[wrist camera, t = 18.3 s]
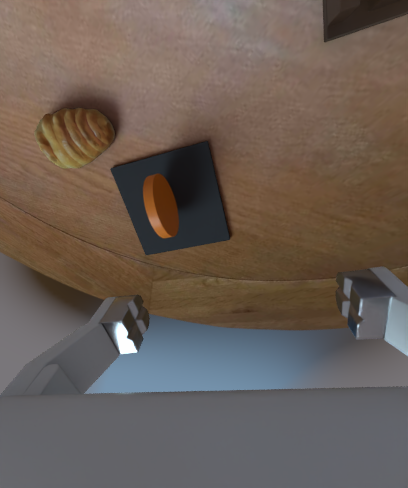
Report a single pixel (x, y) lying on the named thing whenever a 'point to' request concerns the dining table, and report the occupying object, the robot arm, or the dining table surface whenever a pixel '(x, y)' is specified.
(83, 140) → the pastry
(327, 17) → the rack
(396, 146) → the dining table surface
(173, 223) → the orange disc
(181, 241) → the mat
